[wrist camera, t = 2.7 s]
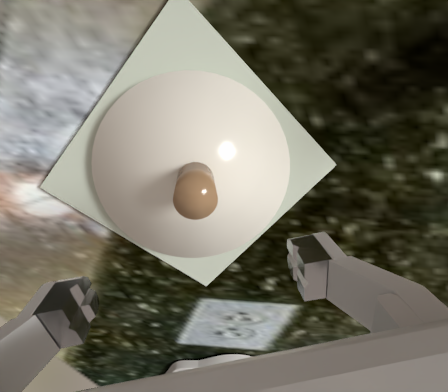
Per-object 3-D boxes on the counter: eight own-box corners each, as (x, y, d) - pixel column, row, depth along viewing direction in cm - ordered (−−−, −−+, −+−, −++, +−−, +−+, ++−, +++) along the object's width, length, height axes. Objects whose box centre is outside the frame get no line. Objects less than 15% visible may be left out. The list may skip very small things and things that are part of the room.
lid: (205, 276, 25) (208, 317, 21) (58, 186, 20) (17, 215, 15) (321, 165, 21) (355, 186, 17) (179, 15, 16) (172, -14, 11)
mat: (206, 282, 26) (206, 286, 26) (43, 184, 20) (39, 187, 20) (332, 162, 22) (336, 164, 22) (178, -9, 16) (177, -13, 15)
